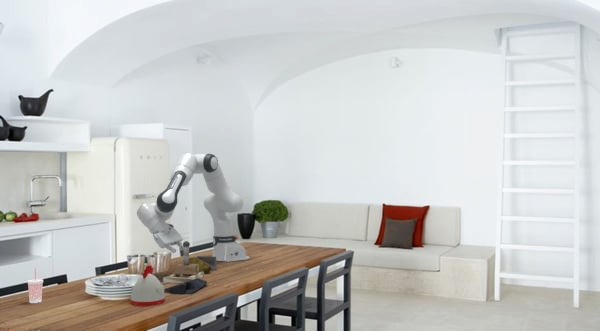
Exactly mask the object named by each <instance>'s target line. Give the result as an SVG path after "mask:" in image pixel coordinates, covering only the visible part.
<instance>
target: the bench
mask: <svg viewBox="0 0 600 331" xmlns="http://www.w3.org/2000/svg"><path fill="white" fill-rule="evenodd" d="M196 258H199V259H200V260H202V261H204V262H206V263H208V264H209V265H210V266H211V271H217V261H216V257H214V256H212V255H208V256H207V255H198V256H197V257H196ZM204 275H205V273H204V272H199V273H197V274H195V275H193V276H187V277H184V276H183V274H174V273H172V274H170V275H168V276H163V277H162V282H163V281H164V282H166V283H167V284H168V283H169V284H170V283H171V284H181V283H184V282H187V281H190V280H193V279H196V278H198V279H203V278H204V277H205V276H204ZM164 282H163V283H164Z"/></svg>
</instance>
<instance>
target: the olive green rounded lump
mask: <svg viewBox="0 0 600 331" xmlns="http://www.w3.org/2000/svg"><path fill="white" fill-rule="evenodd" d="M189 264H199V272H204V274H209V272H211V271H212V270H211V266H210V265H209V264H208V263H206V262H204V261H202V260H200V259H199V258H197V257H195V256H193V257H189Z"/></svg>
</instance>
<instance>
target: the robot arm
mask: <svg viewBox="0 0 600 331" xmlns="http://www.w3.org/2000/svg"><path fill="white" fill-rule="evenodd" d="M195 174H196V175H197V174H198V175H200V174H202V175H203V180H204V181H205V184H206V187H207V189H208V191H209V192H210V193H209V194H207V195H206V196H205V197H204V200H203V205H204V206H203V207H204V209H206V210H207V212H208V213H209V214H210V217H211V219H212V222H213V236H212V237H213V238H212V244H213V249H212V255H211V256H214V257H216V262H228V263H229V262H236V261H237V262H239V261H246V260H247V261H248V260H250V256H249V255H247V252H246V249H245V248H244V246H242V245H241V244H240V243H238V242H237V241H238V240H239V236H237V235H234V233H233V231H234V229H233V227H234V224H233V221H232V220H231V219H230V218H229V217H228V216H227V213H229V214H232V213H238V212H240V211H241V210H242V209H243V207H244V206H243V205H244V201H243V197H242V196H241V195H239V194H237V193H236V192H234V190H233V189H232V188H231V187H230V186H229V184H228V183H227V181H226V178H225V176H224V173H223V171H222V168H221V165H220V164H219V160H218V157H217V156H216V155H215V154H213V153H194V154H193V153H190V152H185V153H183V154H182V155H181V156H180V157H179V159H178V160H177V161H176V163H175V165H174V166H173V169H172V171H171V174H170V181H169V184H168V185H167V186H166V188H165V189H164V190H163V191H162V192H160V193H159V194H158V195H157V197H156V202H153V203H147V202H144V203H143V204H141V205H140V206H139V207H138V209H137V211H136V216H137V218H138V220H139V221H140V222H141V224H143V226H144V227H146V228H147V230H149V232H150V234H151V236H152V237H153V239H154V241H155V243H156V244H157V245H158V247H159V248H160V249H167V250H169V251H170V252H171V253H172V254H174V253H176V252H177V249H176V248H175V247H173V246H175V245H176V246H178V249H179V250H180V251H184V250H183V243H182V241H183V240H184V239H183V236H182V235H181V233H179V231H177V230H178V229H177V230H176V229H175V226H174V225H173V224H171V223H169V222H166V221H167V220H169V219H170V218H172V216H173V214H174V211H175V208H176V206H177V204H178V195H179V193H180V191H181V189H182V187H184V186H187V185H188V184H189V183H190V182H191V180H192V178H193V176H194V175H195Z"/></svg>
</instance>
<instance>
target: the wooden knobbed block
mask: <svg viewBox="0 0 600 331" xmlns="http://www.w3.org/2000/svg"><path fill="white" fill-rule="evenodd" d="M182 245H183V250H182V251H183V262H182V263H178V264H174V265H173V274H183V276H182V277H184V276H185V277H190V276H193V275H195V274H197V273H199V264H189V258H190V245H191V243H190V242H189V241H187V240H185V241H184V242H183V243H182Z"/></svg>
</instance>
